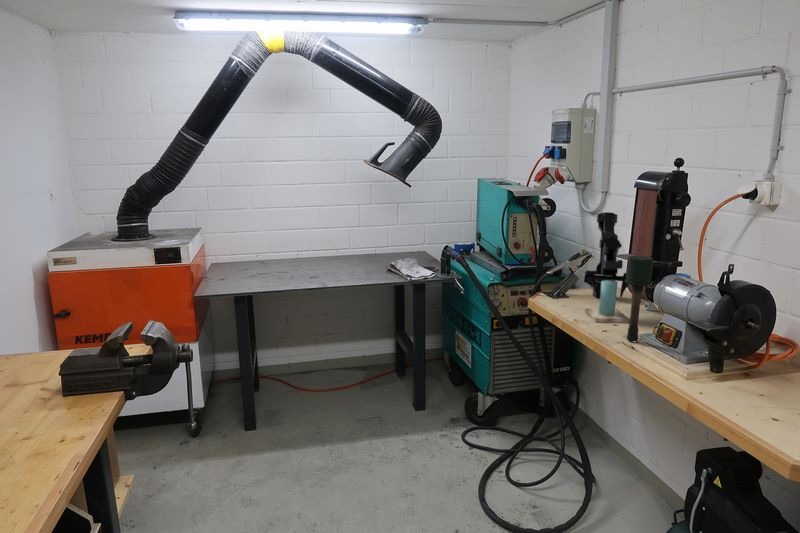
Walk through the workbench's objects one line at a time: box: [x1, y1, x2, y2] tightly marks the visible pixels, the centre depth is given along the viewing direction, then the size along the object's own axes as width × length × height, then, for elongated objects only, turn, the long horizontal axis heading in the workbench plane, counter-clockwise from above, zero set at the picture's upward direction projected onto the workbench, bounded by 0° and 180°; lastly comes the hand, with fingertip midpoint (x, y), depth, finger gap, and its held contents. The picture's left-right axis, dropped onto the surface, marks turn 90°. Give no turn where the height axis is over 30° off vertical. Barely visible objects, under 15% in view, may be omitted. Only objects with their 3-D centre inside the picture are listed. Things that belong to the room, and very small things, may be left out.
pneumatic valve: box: [641, 298, 658, 312], centre depth 222 cm, size 6×12×12 cm, turn 105°
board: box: [584, 308, 630, 323], centre depth 214 cm, size 13×13×2 cm
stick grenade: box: [625, 255, 654, 342], centre depth 185 cm, size 8×9×30 cm
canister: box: [598, 280, 618, 316], centre depth 213 cm, size 6×6×13 cm
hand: (608, 296), depth 211 cm, fingers open, 9 cm apart
